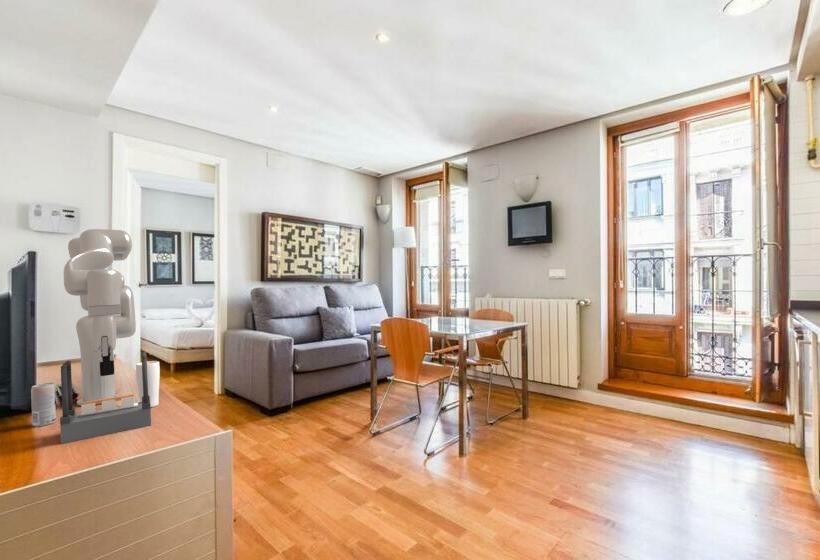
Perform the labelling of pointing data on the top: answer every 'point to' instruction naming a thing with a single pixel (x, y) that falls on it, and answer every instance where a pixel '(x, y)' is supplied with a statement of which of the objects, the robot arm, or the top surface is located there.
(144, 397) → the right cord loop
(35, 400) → the energy drink
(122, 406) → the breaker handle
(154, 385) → the white cylinder
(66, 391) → the dark gray upright panel
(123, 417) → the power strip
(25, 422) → the top surface
